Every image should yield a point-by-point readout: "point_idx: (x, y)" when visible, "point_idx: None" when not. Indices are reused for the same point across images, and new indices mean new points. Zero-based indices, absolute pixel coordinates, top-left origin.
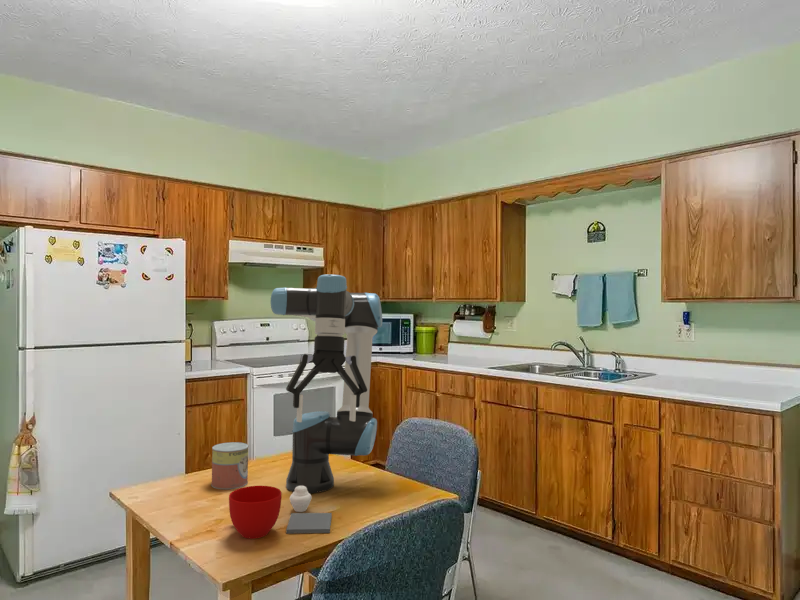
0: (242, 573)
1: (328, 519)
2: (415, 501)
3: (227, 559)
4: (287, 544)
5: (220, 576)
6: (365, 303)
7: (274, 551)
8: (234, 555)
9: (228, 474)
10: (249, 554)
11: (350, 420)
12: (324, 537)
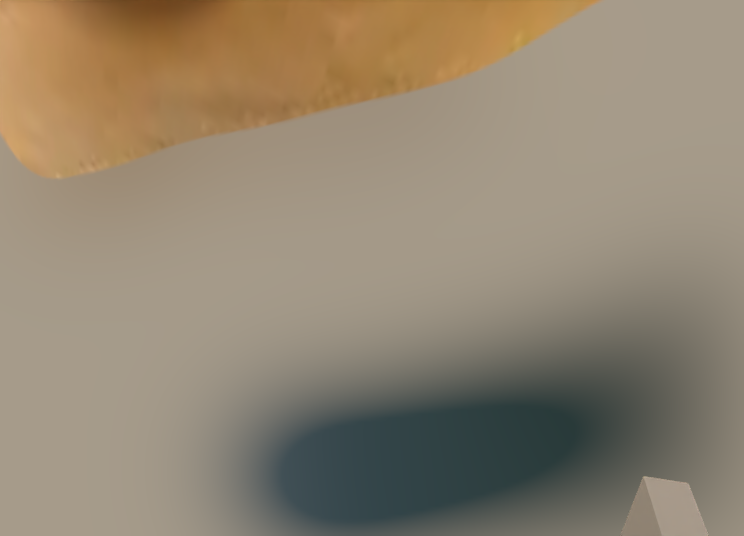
0: (86, 164)
1: None
2: None
3: (28, 34)
4: (266, 10)
5: (19, 149)
6: None
7: (204, 51)
8: (51, 11)
9: None
10: (108, 30)
11: (627, 518)
12: (442, 17)
